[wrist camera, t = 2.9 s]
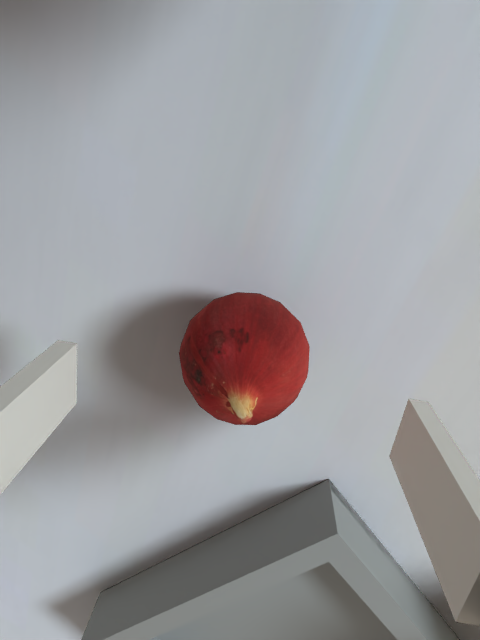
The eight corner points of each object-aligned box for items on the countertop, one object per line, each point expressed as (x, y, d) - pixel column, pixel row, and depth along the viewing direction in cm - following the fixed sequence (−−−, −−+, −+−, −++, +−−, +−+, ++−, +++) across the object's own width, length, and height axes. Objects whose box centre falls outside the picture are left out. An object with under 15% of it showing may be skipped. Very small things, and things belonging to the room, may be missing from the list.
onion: (182, 351, 23) (138, 442, 16) (216, 257, 21) (184, 311, 14) (278, 387, 24) (280, 493, 16) (322, 298, 21) (346, 373, 14)
